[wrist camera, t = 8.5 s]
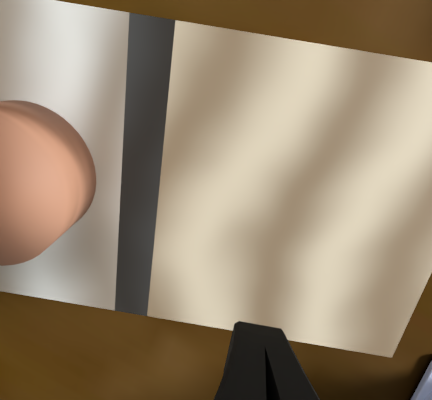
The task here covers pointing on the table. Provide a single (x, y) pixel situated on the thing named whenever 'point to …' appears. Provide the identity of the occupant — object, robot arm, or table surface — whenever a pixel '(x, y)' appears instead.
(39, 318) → the table surface
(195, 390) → the table surface
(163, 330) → the table surface
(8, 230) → the puck
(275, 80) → the board
